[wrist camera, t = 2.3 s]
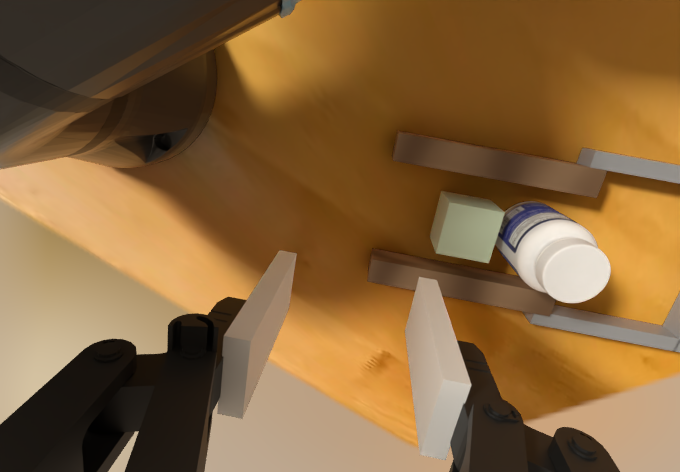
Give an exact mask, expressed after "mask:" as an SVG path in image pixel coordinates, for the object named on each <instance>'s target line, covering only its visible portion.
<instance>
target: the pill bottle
mask: <svg viewBox="0 0 680 472" xmlns="http://www.w3.org/2000/svg"><path fill="white" fill-rule="evenodd" d="M495 245H496V247H497V249H498V251H499V252H500V253H501V255H502V256H503V257H504V258H505V259H506V261H507V262H508V263H509V264H510V266H511V267H512V268H513V269H514V270H515V272H516V273H517V274H518V275H519V276H520V278H521V279H522V280H523V281H524V282H525V283H526V284H527V285H529V286H530V287H532V288H533V289H535V290H537V291H540V292H544V293H548V294H549V295H550V296H551V297H553V298H554V299H556V300H558V301H561V302H564V303H580V302H584V301H587V300H589V299H591V298H593V297H594V296H596V295H597V294H599V293H600V292H601V291H602V290H603V289H604V287H605V286H606V284H607V283H608V280H609V278H610V273H611V267H610V263H609V260H608V258H607V256H606V255H605V254H604V253H603V252H602V251H601V250H600V249H598V246H597V243H596V240H595V238H594V237H593V235H592V234H591V233H590V232H589V231H588V230H587V229H586V228H584V227H583V226H581V225H580V224H578V223H576V222H575V221H573V220H571V219H570V218H568V217H566V216H564V215H563V214H561V213H559V212H558V211H556V210H554V209H553V208H551V207H549V206H547V205H546V204H543V203H540V202H534V201H527V202H521V203H518V204H516V205H513V206H512V207H510V208H509V209H507V210H506V211H505V214H504V217H503V221H502V224H501V227H500V230H499V233H498V236H497V239H496V242H495Z"/></svg>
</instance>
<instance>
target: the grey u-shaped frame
mask: <svg viewBox="0 0 680 472" xmlns="http://www.w3.org/2000/svg"><path fill="white" fill-rule="evenodd" d="M577 163H578V164H581V165H584V166H587V167H591V168H596V169H602V170H607V171H613V172H618V173H624V174H629V175H635V176H640V177H646V178H651V179H657V180H662V181H668V182H673V183H679V184H680V165H677V164H671V163H665V162H660V161H654V160H649V159H643V158H638V157H632V156H627V155H621V154H616V153H610V152H604V151H599V150H593V149H588V148H582V150H581V153H580V156H579V158H578V161H577ZM522 312H523V311H522ZM523 314H524V315H525V317H526V318H527V320H528V321H529V323H530V324H535V325H540V326H546V327H551V328H556V329H561V330H566V331H571V332H577V333H582V334H587V335H592V336H597V337H602V338H608V339H613V340H618V341H623V342H628V343H633V344H639V345H644V346H649V347H654V348H659V349H664V350H670V351H675V352H680V293H679V295H678V297H677V299H676V301H675V302H674V304H673V306H672V308H671V310H670V312H669V314H668V316H667V318H666V320H665V322H664V324H663V326H662V325H656V324H651V323H646V322H641V321H636V320H630V319H625V318H620V317H615V316H609V315H604V314H599V313H594V312H589V311H583V310H578V309H573V308H568V307H563V306H557V305H554V307H553V309H552V312H551V314H550V317H549V316H544V315H539V314H534V313H529V312H523Z"/></svg>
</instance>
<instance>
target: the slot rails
mask: <svg viewBox="0 0 680 472" xmlns="http://www.w3.org/2000/svg"><path fill="white" fill-rule="evenodd" d="M392 158H393V161H398V162H403V163H408V164H414V165H419V166H425V167H430V168H436V169H441V170H447V171H452V172H457V173H463V174H468V175H474V176H479V177H485V178H490V179H496V180H501V181H506V182H512V183H517V184H523V185H528V186H534V187H539V188H545V189H550V190H555V191H561V192H566V193H572V194H577V195H583V196H588V197H594V198H597V196H598V194H599V191H600V189H601V186H602V184H603V181H604V179H605V176H606V174H607V171H606V170H602V169H596V168H591V167H587V166H584V165H581V164H578V163H573V162H567V161H562V160H556V159H551V158H545V157H540V156H534V155H529V154H523V153H518V152H512V151H507V150H501V149H496V148H490V147H485V146H479V145H474V144H468V143H463V142H457V141H452V140H446V139H441V138H435V137H430V136H424V135H419V134H413V133H408V132H402V131H397V134H396V139H395V144H394V149H393V153H392ZM419 277H423V278H428V279H434V280H437V282H438V285H439V288H440V291H441V294H442V296H446V297H451V298H456V299H461V300H466V301H472V302H477V303H482V304H487V305H492V306H497V307H503V308H508V309H513V310H518V311H523V312H529V313H534V314H539V315H544V316H549V317H550V314H551V312H552V309H553V307H554V304H555V302H556V299H554V298H553V297H551V296H550V295H549V294H548V293H544V292H540V291H537V290H535V289H533V288H532V287H530V286H529V285H527V284H526V283H525V282H524V281H523V280H522V279H521V278H520V276H515V275H510V274H505V273H499V272H494V271H489V270H484V269H478V268H473V267H468V266H463V265H457V264H452V263H447V262H442V261H436V260H431V259H426V258H421V257H415V256H410V255H405V254H399V253H394V252H389V251H384V250H378V249H373V248H372V253H371V258H370V262H369V267H368V279H367V281H368V282H373V283H378V284H383V285H388V286H394V287H399V288H404V289H409V290H414V291H416V287H417V283H418V279H419Z"/></svg>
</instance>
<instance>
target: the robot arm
mask: <svg viewBox="0 0 680 472" xmlns="http://www.w3.org/2000/svg"><path fill="white" fill-rule="evenodd" d="M300 1H301V0H0V169H5V168H10V167H16V166H21V165H26V164H32V163H37V162H42V161H48V160H53V159H57V158H62V157H70V158H74V159H78V160H83V161H87V162H91V163H95V164H99V165H104V166H109V167H116V168H134V167H142V166H146V165H150V164H154V163H157V162H161V161H164V160H167V159H169V158H171V157H174V156H175V155H177V154H179V153H180V152H182V151H183V150H185V149H186V148H187V147H188V146H189V145H191V144H192V143H193V142H194V140H195V139H196V138H197V137H198V136H199V134H200V133H201V132H202V130H203V128H204V127H205V125H206V123H207V121H208V119H209V116H210V114H211V111H212V108H213V104H214V100H215V95H216V86H217V69H216V60H215V54H214V50H213V49H214V48H216V47H218V46H220V45H222V44H224V43H225V42H227V41H229V40H231V39H233V38H235V37H237V36H239V35H241V34H243V33H245V32H247V31H249V30H250V29H252V28H254V27H256V26H258V25H260V24H262V23H264V22H266V21H268V20H270V19H272V18H273V17H275V16H277V15H280V17H281V18H283V17H285V16H287V15H290V14H291V12H292V11H293V10H294V8H295V4H296V3H298V2H300ZM296 256H297V253H292V252H287V251H282V250H279V252H278V253H277V255H276V256H275V258H274V259H273V261H272V262H271V264H270V265H269V267H268V268H267V270H266V272H265V273H264V275H263V276H262V278H261V279H260V281H259V282H258V284H257V285H256V287H255V288H254V290H253V292H252V293H251V295H250V296H249V298H248V299H247V300H243V299H237V298H232V297H227V298H225V299H223V300H221V301H219V302H217V304H216V305H215V306H214V307H213V309H212V310H211V312H209V314H208V315H204V314H198V313H197V314H186V315H182V316H179V317H177V318H175V319H174V320H172V321H171V322H170V324H169V325H168V351H167V352H166V353H162V354H141V355H136V347H135V346H134V345H133V344H132V343H131V342H129V341H126V340H123V339H109V340H103V341H100V342H97V343H94V344H92V345H90V346H89V347H87V348H86V349H84V350H83V351H82V352H81V353H80V354H79V355H77V356H76V357H75V358H74V359H73V360H72V361H71V362H70V363H68V364H67V365H66V366H65V367H64V368H63V369H62V370H61V371H60V372H59V373H57V374H56V375H55V376H54V377H53V378H52V379H51V380H50V381H48V382H47V383H46V384H45V385H44V386H43V387H42V388H41V389H39V390H38V391H37V392H36V393H35V394H34V395H33V396H32V397H31V398H29V400H27V401H26V402H25V403H24V404H23V405H22V406H20V407H19V408H18V409H17V410H16V411H15V412H14V413H13V414H12V415H10V416H9V417H8V418H7V419H6V420H5V421H4V422H3V423H2V424H0V472H108V471H109V469H110V468H111V466H112V465H113V463H114V462H115V460H116V459H117V457H118V456H119V455H120V453H121V452H122V450H123V449H124V447H125V446H126V444H127V443H128V441H129V440H130V438H131V437H132V436H133V434H134V432H135V431H139V433H138V436H137V438H136V441H135V444H134V447H133V450H132V452H131V455H130V458H129V461H128V464H127V467H126V469H125V472H204V470H205V463H206V456H207V450H208V443H209V437H210V430H211V423H212V412H213V409H214V408H215V406H216V404H217V402H218V414H222V415H227V416H232V417H236V418H243V416H244V414H245V411H246V409H247V407H248V404H249V402H250V399H251V397H252V395H253V392H254V390H255V388H256V385H257V383H258V380H259V378H260V376H261V373H262V371H263V369H264V366H265V364H266V362H267V359H268V357H269V355H270V352H271V350H272V348H273V345H274V343H275V340H276V338H277V336H278V333H279V331H280V329H281V326H282V324H283V321H284V319H285V317H286V314H287V312H288V310H289V305H290V298H291V291H292V284H293V277H294V270H295V263H296ZM405 336H406V344H407V352H408V361H409V369H410V377H411V386H412V394H413V402H414V411H415V419H416V427H417V436H418V444H419V452H420V455H423V456H428V457H433V458H438V459H442V460H446V457H447V454H448V452H449V449H450V446H451V449H452V453H453V458H454V460H453V463H452V466H451V468H450V471H449V472H620V471H619V469H618V468H617V466H616V464H615V463H614V461H613V460H612V458H611V456H610V455H609V453H608V452H607V451H606V450H605V449H604V447H603V446H602V445H601V444H600V443H599V442H597V441H596V440H595V439H594V438H593V437H591V436H589V435H588V434H586V433H584V432H582V431H579V430H576V429H574V428H569V427H562V428H559V429H557V430H556V432H555V435H554V437H551V436H548V435H546V434H544V433H541V432H539V431H537V430H535V429H532V428H530V427H528V426H526V425H525V424H523V420H522V417H521V414H520V413H519V412H518V411H517V410H516V408H515V407H513V406H512V405H511V404H509V403H508V402H507V401H505V400H503V399H502V398H501V395H500V393H499V390H498V388H497V386H496V383H495V381H494V378H493V376H492V374H491V371H490V369H489V366H488V365H487V362H486V359H485V357H484V354H483V353H482V352H481V351H480V350H479V349H478V348H477V347H476V346H475V344H473V343H468V342H463V341H458V340H456V337H455V334H454V331H453V328H452V325H451V321H450V318H449V315H448V312H447V309H446V306H445V303H444V300H443V297H442V294H441V291H440V288H439V285H438V282H437V280H434V279H428V278H423V277H419V279H418V283H417V287H416V291H415V295H414V298H413V302H412V306H411V310H410V314H409V318H408V321H407V325H406V329H405Z"/></svg>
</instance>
